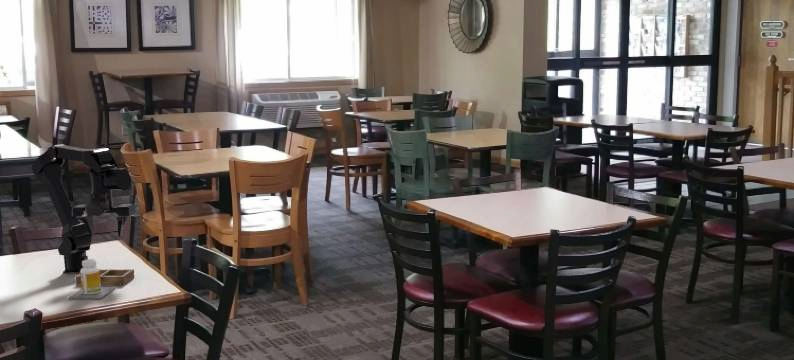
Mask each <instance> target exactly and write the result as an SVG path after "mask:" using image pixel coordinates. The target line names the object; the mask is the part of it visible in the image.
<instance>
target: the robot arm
mask: <svg viewBox="0 0 794 360" xmlns="http://www.w3.org/2000/svg"><path fill="white" fill-rule="evenodd" d="M65 160H69V161H74V162H78V163H82V164H83V166H86V167H88V168H89V169H87V170H86V171H85V174H86V175H90V179H91V193H90V198H89V200H88V202H87V203H86V204H78V205H76V206H72V203H71V201H70V199H69V196H68V194H67V192H66V189H65V187H64V185H63V181H62V176H63V170H62V166H63V165H64V163H65ZM31 170H32V173H33V174H34V176H35V178H36V180H37V181H38V182H40V183H41V184H42V185H43V186H45V187H46V190H47V192H48V195H49V198H50V200H51V202H52V204H53V206H54V208H55V211H56V214H57V216H58V219H59V220H60V223H61V225H62V230H61V239H62V242H61V243H60V244H59V246H58V248H57V252H58V254H59V256H63V260H64V270H63V271H62V274H80V270H81V269H82V268H83V266H82V261H84V260H88V259H89V257H88V255H87V251H90V250H91V245H92V238H93V237H94V234H95V229H94V227H95V226H94V217H100V216H102V215H103V214H116V215H117V216H116V217H115V219H116V221H117V235H118V237H119V238H120V237H122V235H123V232H124V229H125V226H126V223H127V221H128V219H129V217H131V216H132V215H133V214H134V213H135V214H136V212H137V211H136V206H135V205H134V204H133V203H122V204H120V205H118V206H115V205H116V204H115V202H113V194H114V191H127V190H129V188H130V187H131V185H132V178H131V176H130V174H129V172H126V168H124V167H122V168H121V167H120V165H119V164H118V161H116V159H115V157H114V155H113V154H112V152H111V151H110V149H109V148H108V147H98V148H90V149H88V148H82V147H77V146H71V145H65V144H63V143H60V144H55V145H54V144H53V145H51V146H49V147H48V148H47V149H46V151H44V152H43V153H42V154H41V155H38V157H37V158H36V159H35V160H34V161H33V162H32V165H31ZM79 220H80V221H79Z"/></svg>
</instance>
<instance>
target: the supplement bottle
mask: <svg viewBox="0 0 794 360" xmlns="http://www.w3.org/2000/svg"><path fill="white" fill-rule="evenodd" d="M82 266H83V268H82V269H81V270H80V273H79V274H81V284H82V285H81V289H82V292H83V294H86V295H90V294H97V293H99V292H101V287H102V285H101V281H100V271H99V269H100V268H99V267H98V266H97V260H96V259H93V258H91V259H90V258H88V260H84V261H82Z"/></svg>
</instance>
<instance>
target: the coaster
mask: <svg viewBox="0 0 794 360" xmlns="http://www.w3.org/2000/svg"><path fill="white" fill-rule="evenodd" d="M115 290H116V286H114V287H112V286H111V287H109V286H107V287H106V286H104V287H102V286H101V292H99V293H97V294H90V295H86V294H83V292H82V288H80V289H79V290H78V291H76V292H74V293H73V294H72V295H69V296H68V298H67V299H68V300H85V299H100V300H103V299H104V298H105V297H107V296H108V295H109V294H111V293H112V292H114V291H115ZM100 300H99V301H100Z"/></svg>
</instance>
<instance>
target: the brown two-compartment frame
mask: <svg viewBox="0 0 794 360" xmlns="http://www.w3.org/2000/svg"><path fill="white" fill-rule="evenodd" d="M99 271H100V281H101V286H125V285H127V284H128V283H130V282H131V281H132V280H134V279H135V269H133V268H131V269H129V268H128V269H126V268H125V269H124V268H123V269H121V268H120V269H118V268H116V269H115V268H114V269H113V268H112V269H111V268H110V269H109V268H107V269H103V268H102V269H100V268H99ZM75 284H76V286H82V284H81V274H80V273H78V274H77V275H76V276H75Z"/></svg>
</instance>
